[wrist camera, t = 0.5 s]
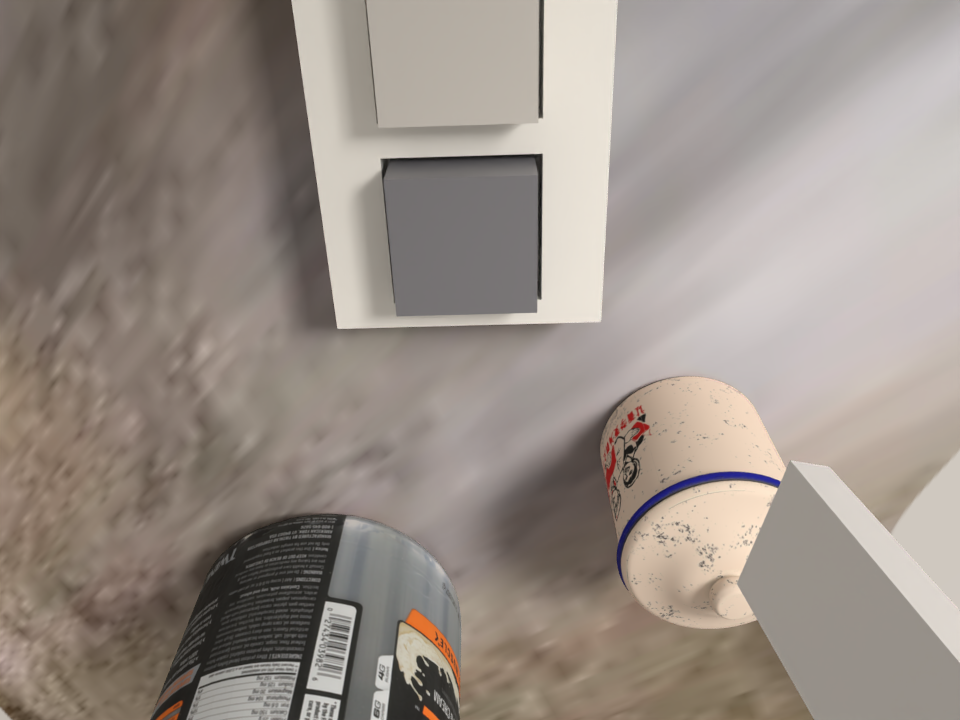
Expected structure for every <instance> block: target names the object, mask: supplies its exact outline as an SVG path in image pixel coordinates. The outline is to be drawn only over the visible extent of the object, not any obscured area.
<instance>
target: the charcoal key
mask: <svg viewBox="0 0 960 720" xmlns="http://www.w3.org/2000/svg"><path fill="white" fill-rule="evenodd" d="M384 191H385V201H386V212H387V222H388V232H389V243H390V253H391V264H392V274H393V284H394V295H395V305H396V316H397V317H398V316H435V315H473V314H510V313H537V266H538V172H537V167H536V162H535V156H534V154H515V155H482V156H449V157H416V158H390V161H389V165H388V168H387V171H386V174H385V177H384Z"/></svg>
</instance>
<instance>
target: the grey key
mask: <svg viewBox="0 0 960 720" xmlns="http://www.w3.org/2000/svg"><path fill="white" fill-rule="evenodd" d="M366 3H367V13H368V24H369V34H370V45H371V55H372V66H373V76H374V86H375V97H376V107H377V118H378V128H397V127H429V126H461V125H493V124H526V123H538V93H539V0H366Z"/></svg>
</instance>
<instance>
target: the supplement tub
mask: <svg viewBox="0 0 960 720" xmlns="http://www.w3.org/2000/svg"><path fill="white" fill-rule="evenodd" d="M460 667H461V615H460V608H459V602H458V598H457V595H456V591H455V589H454V587H453V585H452V583H451V580H450V578H449V577H448V575H447V573H446V572H445V570H444V569H443V568H442V566H441V565H440V564H439V562H438V561H437V560H436V559H435V558H434V557H433V556H432V555H431V554H430V553H429V552H428V551H427V550H426V549H425V548H424V547H422V546H421V545H420V544H418V543H417V542H416V541H414V540H413V539H411V538H410V537H408V536H406V535H405V534H403V533H401V532H399V531H397V530H395V529H393V528H391V527H388V526H386V525H384V524H381V523H379V522H375V521H372V520H369V519H365V518H361V517H356V516H348V515H337V514H320V515H309V516H303V517H297V518H292V519H289V520H286V521H283V522H280V523H275V524H271V525H269V526H266V527H264V528H261V529H257V530H255V531H254V532H251V533H250V534H248V535H247V536H245V537H243V538H242V539H240V540H239V541H237V542H236V543H234V544H233V545H232V546H231V547H230V548H228V549H227V550H226V551H225V552H224V553H223V554H222V555H221V556H220V557H219V558H218V560H217V561H216V562H215V563H214V565H213V566H212V568H211V569H210V571H209V573H208V574H207V577H206V580H205V582H204V585H203V588H202V590H201V593H200V595H199V597H198V600H197V603H196V605H195V608H194V610H193V612H192V615H191V618H190V620H189V622H188V626H187V628H186V630H185V633H184V636H183V638H182V641H181V643H180V646H179V648H178V651H177V654H176V656H175V659H174V661H173V663H172V666H171V668H170V671H169V674H168V676H167V678H166V681H165V683H164V686H163V689H162V691H161V694H160V697H159V699H158V701H157V703H156V706H155V709H154V712H153V715H152V717H151V720H460V716H459V709H460Z"/></svg>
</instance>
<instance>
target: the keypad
mask: <svg viewBox="0 0 960 720" xmlns="http://www.w3.org/2000/svg"><path fill="white" fill-rule="evenodd" d="M291 1H292V8H293V15H294V22H295V29H296V36H297V44H298V51H299V58H300V65H301V72H302V79H303V87H304V94H305V101H306V108H307V115H308V122H309V129H310V137H311V144H312V151H313V158H314V165H315V172H316V179H317V187H318V194H319V201H320V208H321V215H322V222H323V229H324V237H325V244H326V251H327V258H328V265H329V272H330V279H331V287H332V294H333V301H334V308H335V315H336V322H337V329H353V328H391V327H429V326H467V325H505V324H542V323H580V322H601V311H602V292H603V273H604V253H605V234H606V215H607V196H608V177H609V157H610V138H611V119H612V100H613V81H614V61H615V42H616V23H617V4H618V0H539V93H538V123H526V124H493V125H461V126H429V127H397V128H378V118H377V107H376V97H375V86H374V76H373V66H372V55H371V45H370V34H369V24H368V13H367V3H366V0H291ZM515 154H534V156H535V162H536V167H537V172H538V266H537V313H510V314H473V315H435V316H398V317H397V316H396V305H395V295H394V284H393V274H392V264H391V253H390V243H389V232H388V222H387V212H386V201H385V191H384V177H385V174H386V171H387V168H388V165H389V161H390V158H416V157H449V156H482V155H515Z"/></svg>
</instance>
